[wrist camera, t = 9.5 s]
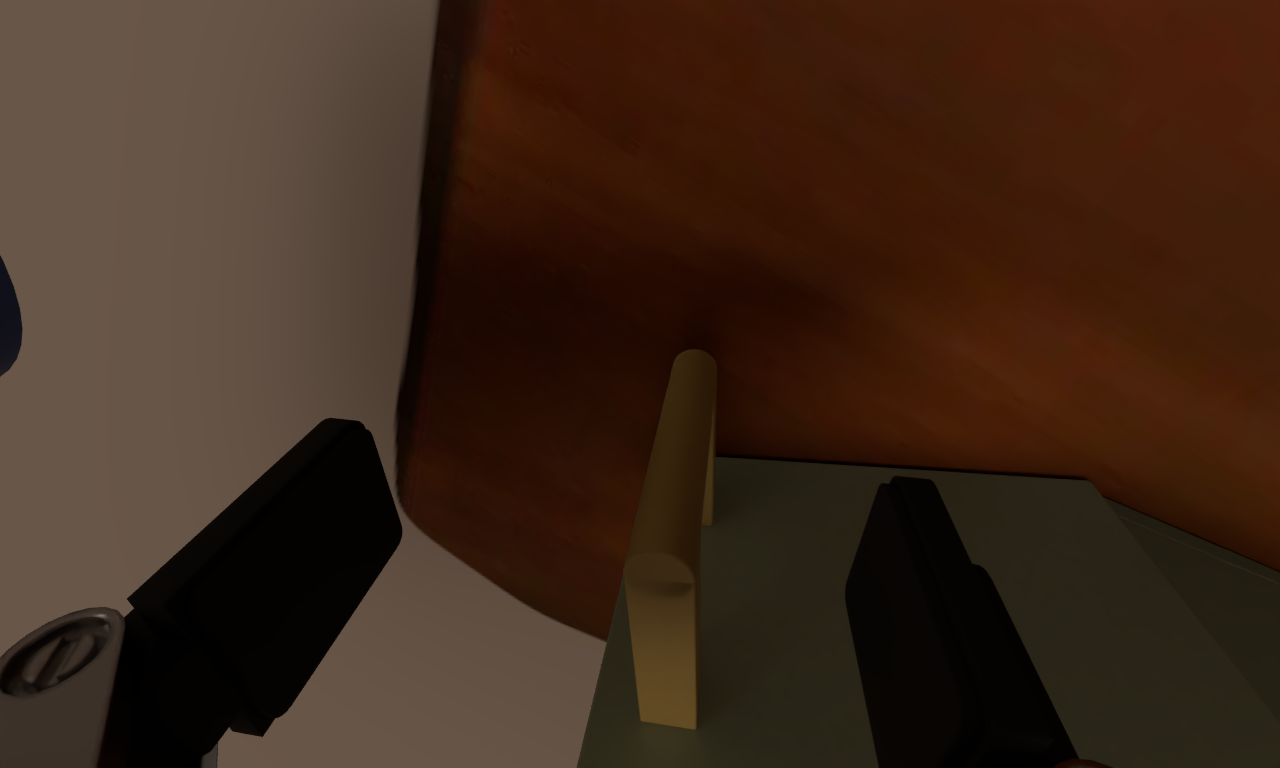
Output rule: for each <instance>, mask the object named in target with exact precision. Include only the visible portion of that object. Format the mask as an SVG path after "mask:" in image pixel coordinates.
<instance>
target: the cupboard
mask: <svg viewBox="0 0 1280 768" xmlns="http://www.w3.org/2000/svg"><path fill="white" fill-rule="evenodd" d="M1103 498H1104V497H1103ZM1104 499H1105V501H1106V502H1107V503H1108V504H1109V506H1110V507H1111V508H1112V509H1113V511H1114V512H1115V513H1116V515H1117V516H1118V517H1119V518H1120V520H1121V521H1122V522H1123V523H1124V525H1125V526H1126V527H1127V529H1128V530H1129V531H1130V532H1131V534H1132V535H1133V536H1134V538H1135V539H1136V540H1137V541H1138V543H1139V544H1140V545H1141V546H1142V548H1143V549H1144V550H1145V552H1146V553H1147V554H1148V555H1149V557H1150V558H1151V559H1152V560H1153V562H1154V563H1155V564H1156V566H1157V567H1158V568H1159V569H1160V571H1161V572H1162V573H1163V575H1164V576H1165V577H1166V578H1167V580H1168V581H1169V582H1170V583H1171V585H1172V586H1173V587H1174V589H1175V590H1176V591H1177V592H1178V594H1179V595H1180V596H1181V598H1182V599H1183V600H1184V601H1185V603H1186V604H1187V605H1188V606H1189V608H1190V609H1191V610H1192V612H1193V613H1194V614H1195V615H1196V617H1197V618H1198V619H1199V620H1200V622H1201V623H1202V624H1203V626H1204V627H1205V628H1206V629H1207V631H1208V632H1209V633H1210V635H1211V636H1212V637H1213V638H1214V640H1215V641H1216V642H1217V643H1218V645H1219V646H1220V647H1221V649H1222V650H1223V651H1224V652H1225V654H1226V655H1227V656H1228V657H1229V659H1230V660H1231V661H1232V663H1233V664H1234V665H1235V666H1236V668H1237V669H1238V670H1239V672H1240V673H1241V674H1242V675H1243V677H1244V678H1245V679H1246V680H1247V682H1248V683H1249V684H1250V686H1251V687H1252V688H1253V689H1254V691H1255V692H1256V693H1257V694H1258V696H1259V697H1260V698H1261V700H1262V701H1263V702H1264V703H1265V705H1266V706H1267V707H1268V709H1269V710H1270V711H1271V712H1272V714H1273V715H1274V716H1275V717H1276V719H1277V720H1278V721H1279V723H1280V572H1278V571H1276V570H1273V569H1271V568H1269V567H1266V566H1264V565H1262V564H1259V563H1257V562H1254V561H1252V560H1250V559H1247V558H1245V557H1243V556H1240V555H1238V554H1236V553H1233V552H1231V551H1229V550H1226V549H1224V548H1222V547H1219V546H1217V545H1215V544H1212V543H1210V542H1208V541H1205V540H1203V539H1200V538H1198V537H1196V536H1193V535H1191V534H1189V533H1186V532H1184V531H1182V530H1179V529H1177V528H1175V527H1172V526H1170V525H1168V524H1165V523H1163V522H1161V521H1158V520H1156V519H1153V518H1151V517H1149V516H1146V515H1144V514H1142V513H1139V512H1137V511H1135V510H1132V509H1130V508H1128V507H1125V506H1123V505H1121V504H1118V503H1116V502H1114V501H1111V500H1109V499H1107V498H1104Z"/></svg>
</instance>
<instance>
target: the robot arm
mask: <svg viewBox="0 0 1280 768" xmlns="http://www.w3.org/2000/svg"><path fill="white" fill-rule="evenodd" d="M401 538H402V525H401V522H400V519H399V516H398V513H397V510H396V507H395V504H394V500H393V497H392V494H391V491H390V488H389V485H388V482H387V479H386V476H385V473H384V470H383V466H382V464H381V460H380V457H379V454H378V451H377V448H376V445H375V442H374V439H373V436H372V434H371V432H370V431H369V430H366V429H365V427H364V425H363V424H362V423H361V422H359V421H355V420H345V419H336V418H328V419H325V420H323V421H322V422H320V423H319V424H318V425H317V426H316V427H315V428H314V429H313V430H312V431H310V432H309V433H308V434H307V435H306V436H305V437H304V438H303V439H302V440H300V441H299V443H297V444H296V445H295V446H294V447H293V448H292V449H291V450H290V451H289V452H287V453H286V454H285V455H284V456H283V457H282V458H281V459H280V460H279V461H278V462H276V463H275V464H274V465H273V466H272V467H271V468H270V469H269V470H268V471H267V472H265V473H264V474H263V475H262V476H261V477H260V478H259V479H258V480H257V481H256V482H254V484H252V485H251V486H250V487H249V488H248V489H247V490H246V491H245V492H243V493H242V494H241V495H240V496H239V497H238V498H237V499H236V500H235V501H234V502H233V503H231V504H230V505H229V506H228V507H227V508H226V509H225V510H224V511H223V512H222V513H220V514H219V515H218V516H217V517H216V518H215V519H214V520H213V521H212V522H211V523H209V524H208V525H207V526H206V527H205V528H204V529H203V530H202V531H201V532H200V533H199V534H197V536H195V537H194V538H193V539H192V540H191V541H190V542H189V543H188V544H186V546H185V547H183V548H182V549H181V550H180V551H179V552H178V553H177V554H176V555H174V556H173V557H172V558H171V559H170V560H169V561H168V562H167V563H166V564H165V565H163V566H162V567H161V568H160V569H159V570H158V571H157V572H156V573H155V574H154V575H152V576H151V577H150V578H149V579H148V580H147V581H146V582H145V583H144V584H143V585H142V586H140V587H139V588H138V589H137V590H136V591H135V592H134V593H133V594H132V595H131V596H129V597H128V598H127V600H128V601H129V602H130V604H131V605H132V606H133V607H134V609H133V610H132V611H131V612H130V613H129V614H128V615H127V616H125V617H123V616H122V615H121V614H120V613H119V612H118V611H117V610H115V609H111V608H107V607H98V608H87V609H84V610H80V611H76V612H73V613H69V614H67V615H64V616H62V617H60V618H57V619H55V620H53V621H50V622H48V623H46V624H45V625H43V626H41V627H40V628H38V629H37V630H34V631H33V632H31V633H29V634H28V635H26V636H25V637H24V638H22V639H21V640H20V641H18V642H17V643H16V644H15V645H13V646H12V647H11V648H9V649H8V650H7V651H6V652H5V653H4V654H3V655H2V656H1V657H0V768H217V756H218V741H219V740H220V738H221V737H222V736H223V735H224V733H225V732H226V730H227V729H228V728H229V727H230V729H231V730H232V731H233V732H239V733H244V734H250V735H255V736H261V737H263V736H264V734H265V733H266V731H267V730H268V728H269V727H270V725H271V724H272V722H273V721H274V719H275V718H278V717H280V716H282V715H283V714H284V713H286V712H287V711H288V709H289V708H290V707H291V705H292V704H293V702H294V701H295V699H296V698H297V696H298V695H299V693H300V692H301V691H302V689H303V688H304V686H305V685H306V683H307V681H308V680H309V679H310V677H311V676H312V674H313V673H314V671H315V670H316V668H317V667H318V665H319V664H320V662H321V661H322V659H323V658H324V656H325V655H326V653H327V651H328V650H329V648H330V647H331V646H332V644H333V643H334V641H335V640H336V638H337V637H338V635H339V634H340V632H341V630H342V629H343V628H344V626H345V625H346V623H347V622H348V620H349V619H350V617H351V616H352V614H353V613H354V611H355V610H356V608H357V607H358V605H359V604H360V602H361V601H362V599H363V597H364V596H365V595H366V593H367V592H368V590H369V589H370V587H371V586H372V584H373V583H374V581H375V580H376V578H377V577H378V575H379V574H380V572H381V571H382V569H383V568H384V566H385V565H386V563H387V562H388V560H389V559H390V558H391V556H392V555H393V553H394V552H395V550H396V549H397V547H398V545H399V543H400V541H401ZM845 603H846V609H847V614H848V618H849V623H850V628H851V633H852V638H853V643H854V648H855V653H856V658H857V663H858V668H859V673H860V678H861V682H862V687H863V692H864V697H865V702H866V707H867V712H868V717H869V722H870V727H871V732H872V737H873V742H874V746H875V751H876V756H877V761H878V766H879V768H1113V767H1111V766H1108V765H1105V764H1102V763H1099V762H1096V761H1093V760H1086V759H1079V757H1078V755H1077V753H1076V751H1075V749H1074V747H1073V745H1072V742H1071V740H1070V738H1069V736H1068V734H1067V732H1066V730H1065V728H1064V726H1063V724H1062V722H1061V720H1060V718H1059V716H1058V714H1057V712H1056V710H1055V708H1054V706H1053V703H1052V701H1051V699H1050V697H1049V695H1048V693H1047V691H1046V689H1045V687H1044V685H1043V683H1042V681H1041V679H1040V677H1039V675H1038V673H1037V671H1036V669H1035V667H1034V664H1033V662H1032V660H1031V658H1030V656H1029V654H1028V652H1027V650H1026V648H1025V646H1024V644H1023V642H1022V640H1021V638H1020V636H1019V634H1018V632H1017V630H1016V628H1015V625H1014V623H1013V621H1012V619H1011V617H1010V615H1009V613H1008V611H1007V609H1006V607H1005V605H1004V603H1003V601H1002V599H1001V597H1000V595H999V593H998V591H997V589H996V587H995V584H994V582H993V580H992V579H991V577H990V575H989V574H988V572H987V571H986V570H985V569H984V568H983V567H982V566H980V565H977V564H972V562H971V560H970V558H969V556H968V553H967V551H966V549H965V547H964V545H963V543H962V540H961V538H960V536H959V534H958V532H957V530H956V528H955V525H954V523H953V521H952V519H951V517H950V515H949V512H948V510H947V508H946V506H945V504H944V502H943V500H942V497H941V495H940V493H939V491H938V489H937V487H936V485H935V483H934V482H933V481H932V480H930V479H923V478H914V477H904V476H894V477H893V478H892V479H891V481H890V483H889V484H888V483H881V484H880V485H879V487H878V490H877V493H876V496H875V499H874V502H873V505H872V507H871V510H870V513H869V516H868V519H867V522H866V525H865V528H864V531H863V534H862V537H861V540H860V543H859V546H858V549H857V552H856V555H855V558H854V561H853V564H852V567H851V570H850V573H849V576H848V579H847V582H846V586H845Z"/></svg>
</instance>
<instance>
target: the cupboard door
mask: <svg viewBox="0 0 1280 768" xmlns="http://www.w3.org/2000/svg"><path fill="white" fill-rule="evenodd" d="M716 412H717V364H716V362H715V360H714V359H713V357H712V356H711V355H709V354H708V353H707V352H705V351H702V350H698V349H690V350H686V351H684V352H682V353H680V354H679V355H678V356H677V357H676V359H675V360H674V363H673V367H672V371H671V375H670V379H669V383H668V387H667V391H666V395H665V400H664V404H663V408H662V412H661V416H660V420H659V424H658V428H657V432H656V436H655V440H654V445H653V449H652V453H651V457H650V461H649V465H648V469H647V473H646V477H645V481H644V485H643V490H642V494H641V498H640V502H639V506H638V510H637V514H636V518H635V522H634V526H633V531H632V535H631V539H630V543H629V547H628V551H627V555H626V559H625V563H624V568H623V573H624V574H623V578H622V582H621V586H620V590H619V594H618V599H617V603H616V607H615V611H614V615H613V619H612V623H611V628H610V632H609V636H608V640H607V644H606V648H605V653H604V657H603V661H602V665H601V669H600V673H599V678H598V681H597V686H596V690H595V694H594V698H593V702H592V706H591V711H590V715H589V719H588V723H587V727H586V731H585V735H584V739H583V744H582V748H581V752H580V756H579V760H578V764H577V768H879V766H878V761H877V756H876V751H875V746H874V742H873V737H872V732H871V727H870V722H869V717H868V712H867V707H866V702H865V697H864V692H863V687H862V682H861V678H860V673H859V668H858V663H857V658H856V653H855V648H854V643H853V638H852V633H851V628H850V623H849V618H848V614H847V609H846V603H845V586H846V582H847V579H848V576H849V573H850V570H851V567H852V564H853V561H854V558H855V555H856V552H857V549H858V546H859V543H860V540H861V537H862V534H863V531H864V528H865V525H866V522H867V519H868V516H869V513H870V510H871V507H872V505H873V502H874V499H875V496H876V493H877V490H878V487H879V485H880V484H881V483H888V484H889V483H890V481H891V479H892V478H893V477H894V476H904V477H914V478H923V479H930V480H932V481H933V482H934V483H935V485H936V487H937V489H938V491H939V493H940V495H941V497H942V500H943V502H944V504H945V506H946V508H947V510H948V512H949V515H950V517H951V519H952V521H953V523H954V525H955V528H956V530H957V532H958V534H959V536H960V538H961V540H962V543H963V545H964V547H965V549H966V551H967V553H968V556H969V558H970V560H971V562H972V564H977V565H980V566H982V567H983V568H984V569H985V570H986V571H987V572H988V574H989V575H990V577H991V579H992V580H993V582H994V584H995V587H996V589H997V591H998V593H999V595H1000V597H1001V599H1002V601H1003V603H1004V605H1005V607H1006V609H1007V611H1008V613H1009V615H1010V617H1011V619H1012V621H1013V623H1014V625H1015V628H1016V630H1017V632H1018V634H1019V636H1020V638H1021V640H1022V642H1023V644H1024V646H1025V648H1026V650H1027V652H1028V654H1029V656H1030V658H1031V660H1032V662H1033V664H1034V667H1035V669H1036V671H1037V673H1038V675H1039V677H1040V679H1041V681H1042V683H1043V685H1044V687H1045V689H1046V691H1047V693H1048V695H1049V697H1050V699H1051V701H1052V703H1053V706H1054V708H1055V710H1056V712H1057V714H1058V716H1059V718H1060V720H1061V722H1062V724H1063V726H1064V728H1065V730H1066V732H1067V734H1068V736H1069V738H1070V740H1071V742H1072V745H1073V747H1074V749H1075V751H1076V753H1077V755H1078V757H1079V759H1086V760H1093V761H1096V762H1099V763H1102V764H1105V765H1108V766H1111V767H1113V768H1280V723H1279V721H1278V720H1277V719H1276V717H1275V716H1274V715H1273V714H1272V712H1271V711H1270V710H1269V709H1268V707H1267V706H1266V705H1265V703H1264V702H1263V701H1262V700H1261V698H1260V697H1259V696H1258V694H1257V693H1256V692H1255V691H1254V689H1253V688H1252V687H1251V686H1250V684H1249V683H1248V682H1247V680H1246V679H1245V678H1244V677H1243V675H1242V674H1241V673H1240V672H1239V670H1238V669H1237V668H1236V666H1235V665H1234V664H1233V663H1232V661H1231V660H1230V659H1229V657H1228V656H1227V655H1226V654H1225V652H1224V651H1223V650H1222V649H1221V647H1220V646H1219V645H1218V643H1217V642H1216V641H1215V640H1214V638H1213V637H1212V636H1211V635H1210V633H1209V632H1208V631H1207V629H1206V628H1205V627H1204V626H1203V624H1202V623H1201V622H1200V620H1199V619H1198V618H1197V617H1196V615H1195V614H1194V613H1193V612H1192V610H1191V609H1190V608H1189V606H1188V605H1187V604H1186V603H1185V601H1184V600H1183V599H1182V598H1181V596H1180V595H1179V594H1178V592H1177V591H1176V590H1175V589H1174V587H1173V586H1172V585H1171V583H1170V582H1169V581H1168V580H1167V578H1166V577H1165V576H1164V575H1163V573H1162V572H1161V571H1160V569H1159V568H1158V567H1157V566H1156V564H1155V563H1154V562H1153V560H1152V559H1151V558H1150V557H1149V555H1148V554H1147V553H1146V552H1145V550H1144V549H1143V548H1142V546H1141V545H1140V544H1139V543H1138V541H1137V540H1136V539H1135V538H1134V536H1133V535H1132V534H1131V532H1130V531H1129V530H1128V529H1127V527H1126V526H1125V525H1124V523H1123V522H1122V521H1121V520H1120V518H1119V517H1118V516H1117V515H1116V513H1115V512H1114V511H1113V509H1112V508H1111V507H1110V506H1109V504H1108V503H1107V502H1106V501H1105V499H1104V498H1103V497H1102V495H1101V494H1100V493H1099V492H1098V490H1097V489H1096V488H1095V486H1094V485H1093V484H1092V483H1091V482H1090V481H1085V480H1069V479H1054V478H1038V477H1023V476H1007V475H992V474H976V473H960V472H945V471H929V470H914V469H898V468H883V467H867V466H851V465H836V464H820V463H805V462H789V461H774V460H758V459H743V458H727V457H716Z"/></svg>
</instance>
